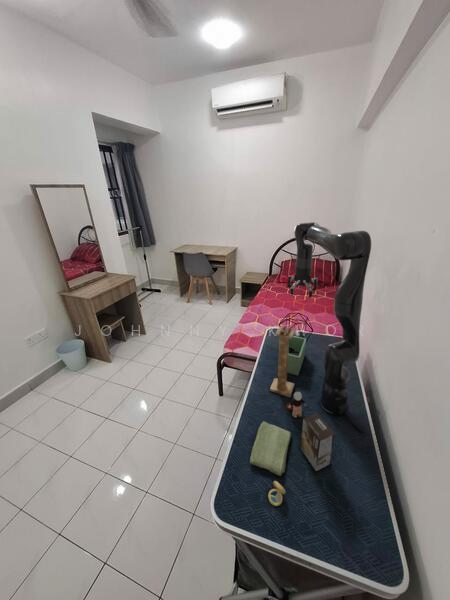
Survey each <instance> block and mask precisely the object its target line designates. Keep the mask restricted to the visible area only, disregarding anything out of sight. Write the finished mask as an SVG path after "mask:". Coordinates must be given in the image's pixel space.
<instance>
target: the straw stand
mask: <svg viewBox="0 0 450 600" xmlns="http://www.w3.org/2000/svg"><path fill="white" fill-rule="evenodd" d="M295 333H296V329H292V326H291V325H289V326H288V327H286V325H285V324H283V326H279V327H278V329H277V330H276V332H275V335H274V336H275V337H279V338H278V359H277V361H278V363H277V377H274V378H273V381H272V383H271V385H270V387H269V392H272V393H275V394H278V395H281V396H284V397H287V398H292V395H293V391H294V388H295V383H294V382H291V381H288V373H287V370H288V355H289V340H290V339H292V338H293V336H295Z"/></svg>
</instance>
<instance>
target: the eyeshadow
mask: <svg viewBox="0 0 450 600" xmlns="http://www.w3.org/2000/svg"><path fill="white" fill-rule="evenodd" d="M272 484H273V486H274V487H275V488H272V489H270V490H269V491H268V495H267V496H268V497H267V498H268V502H269V503H270V504H271V505H272V506H274V507H279V506H281V504H282V503H283V495H285V494H286V493H287V491H286V489H285V487H283V485H282V484H281V483H279V482H278V481H277V480H274V481H273V482H272Z"/></svg>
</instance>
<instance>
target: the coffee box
mask: <svg viewBox="0 0 450 600" xmlns="http://www.w3.org/2000/svg"><path fill="white" fill-rule="evenodd" d="M335 436H336V432H335V431H334V430H333V429H332V428H331V427H330V426H329V425H328V423H326V421H325V420H324V419H323V417H322V416H321V415H320V414H319V413H318V412H316V413H313V414H311V415H309V416H307V417H306V418H303V421H302V430H301V439H300V450H301V451H302V453H303V455H304V456H305V457H306V459H307V460H308V462H309V463H310V465H311V466H312V468H313V469H314V470H315V472H317V471H320V470H321V469H323V468H326V467H327V466H329V465H330V462H331V458H332V452H333V447H334V443H335Z"/></svg>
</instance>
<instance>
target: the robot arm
mask: <svg viewBox="0 0 450 600" xmlns="http://www.w3.org/2000/svg"><path fill="white" fill-rule="evenodd" d="M293 230H294V231H293V233H294V238H295V242H296V243H295V244H296V258H295V266H294V267H295V269H294V271H295V272H294V275H292V274H290V275H288V277H287V283H286V287H287V288H290V295H291V296H294V295H295V287H296V286H299V287H300V286H302V287H306V288H307V289H308V290H309V293H308V298H309V299H311V298H312V297H313V293H314V291H315V292H316V291H318V290H317V289H318V282H319V281H318V279H319V278H318V277H313V278H312V269H313V268H312V267H313V252H314V245H313V244H315V245H318V246H320V247H321V248H322V249H324V250H325V251H326V252H327V253H328V254H329V255H331V256H332V257H333V258H334V259H336V260H337V261H350V263H349V268H348V271H347V273H346V275H345V276H344V278H343V279H342V281H341V283H340V284H339V286H338V287H337V289H336V291H335V293H334V296H333V314H334V316H335V318H336V320H337V322H338V323H339V325H340V326H341V328H342V338H341V341H338V342H334V343H330V344H328V345H326V349H325V353H324V364H323V365H324V366H323V367H324V376H323V385H322V389H321V396H320V397H321V398H320V403H319V404H320V406H321V408H322V409H323V411H325V412H327V413H329V414H332V415H333V416H334V417H335V416H337V415H340V416H341V415H342V414H345V415H346V416H347V417H348V418H349V420H350V421H351V424H352V425H353V426H354V427H355V428H356V429H357V430H358V431H360V432H361V433H362V432H364V429H363V428H362V427H360V426H359V425H357V423H356V422H355V420H354V418H353V417H352V416H351V414H350V413H349V412H348V411H349V408H350V407H349V405H348V397H349V394H348V393H347V391H348V388H349V387H348V386H349V382H350V379H351V378H350V377H351V373H350V371H349V369H348V368H347V367H346V366H349V365H352V364H355V363H356V362H357V361H358V360H359V358H360V349H361V348H360V347H361V346H360V330H361V329H360V328H361V315H362V309H363V301H364V288H365V280H366V274H367V269H368V266H369V261H370V257H371V252H372V238H371V235H370V234H369V232H368V231H366V230H353V231H346V232H342V233H332V231H331V229H329V228H327V227H325V226H322V225H319V223H317V222H313V221H312V222H301V223H297V224H296V225H295V227H294V229H293ZM305 240H308V241H309V242H311V243H313V244H311V243H309V242H308V243H307V242H305ZM293 280H294V282H293V284H292V281H293ZM311 282H312V283H313V285H312V283H311Z"/></svg>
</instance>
